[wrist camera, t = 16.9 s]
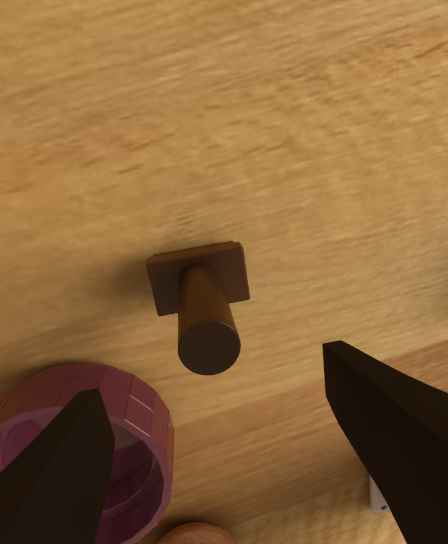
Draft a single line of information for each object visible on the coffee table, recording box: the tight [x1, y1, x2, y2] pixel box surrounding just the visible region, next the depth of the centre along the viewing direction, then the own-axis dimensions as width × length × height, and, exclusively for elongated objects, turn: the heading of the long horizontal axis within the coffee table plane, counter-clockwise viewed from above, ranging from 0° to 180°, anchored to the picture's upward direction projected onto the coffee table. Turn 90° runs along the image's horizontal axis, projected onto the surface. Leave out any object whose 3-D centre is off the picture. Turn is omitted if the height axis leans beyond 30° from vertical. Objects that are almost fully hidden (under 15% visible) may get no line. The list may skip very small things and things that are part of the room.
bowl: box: [0, 363, 174, 544], centre depth 22 cm, size 11×11×4 cm
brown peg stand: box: [146, 241, 250, 375], centre depth 17 cm, size 5×3×9 cm, turn 99°
